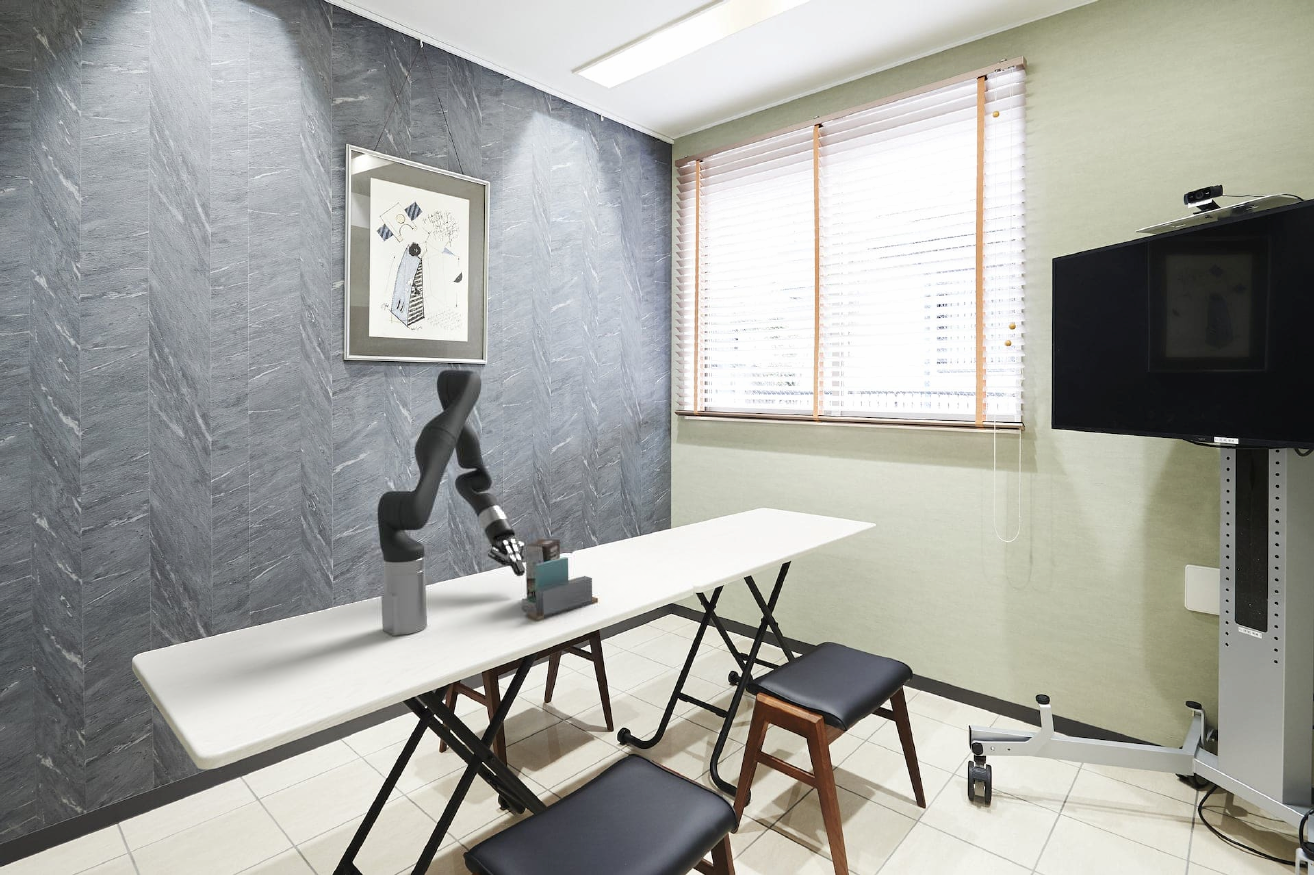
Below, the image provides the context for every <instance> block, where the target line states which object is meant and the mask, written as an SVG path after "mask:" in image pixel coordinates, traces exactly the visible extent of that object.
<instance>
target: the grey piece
mask: <svg viewBox="0 0 1314 875" xmlns="http://www.w3.org/2000/svg"><path fill="white" fill-rule="evenodd" d="M595 603H599V598H598V597H595V596H593V577H590V576H586V575H583V576H579V577H576V578H572V579H569V580H568V581H564V582H560V583H557V584H553V585H549V586H546V587H542V588H538V589H536V599H530V600H529V599H528V598H527V597H526V598H522V599H521V611H522V612H525V613H526V618H528V619H531V620H533V621H536V622H539V621H542V620H545V619H548V618H551V617H554V616H558V615H562V614H565V613H567V612H570V611H574V610H576V609H580V608H583V607H586V606H590V605H593V604H595Z"/></svg>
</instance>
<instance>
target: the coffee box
mask: <svg viewBox="0 0 1314 875" xmlns="http://www.w3.org/2000/svg"><path fill="white" fill-rule="evenodd" d="M560 558H561V540H560V539H555V538H554V539H553V538H551V539H549V538H547V539H544V538H539V539H537V540H534V541H533V542H530V543H528V545H526V556H525V576H526V577H525V578H526V580H525V582H526V584H525V585H526V586H525V587H526V598H528V597H529V596H533V595H536V592H535V564H538V563H543V562H547V561H551V560H555V559H560ZM533 599H536V598H533Z"/></svg>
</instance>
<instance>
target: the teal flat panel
mask: <svg viewBox="0 0 1314 875" xmlns="http://www.w3.org/2000/svg"><path fill="white" fill-rule="evenodd" d="M568 580H570V578H569V558H568V557H567V556H566V557H560V559H555V560H551V561H547V562H543V563H538V564H535V592H536V589H538V588H542V587H546V586H549V585H553V584H557V583H560V582H564V581H568ZM533 598H536V595H533V596H529V597H528V599H529V600H530V599H533Z"/></svg>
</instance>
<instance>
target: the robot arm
mask: <svg viewBox="0 0 1314 875" xmlns="http://www.w3.org/2000/svg"><path fill="white" fill-rule="evenodd" d="M436 390H437V391H436V392H437V395H438V399H439V402H440V405H441V407H442V410H443V411H441V412H440V413H439V414H438V415H436V416H434V417H433V418H432V419H431V420H430V421H428V422H427V423H426V424H425V426H423V429H421V432H420V434H419V436H418V438H417V440H416V443H415V445H414V455H415V461H416V464H417V466H418V469H419V479H418V483H417V485H416V486H415V488H414V490H412V491H410V490H402V491H401V490H400V491H399V490H391V491H386V492H384V493H383V494H382V495H381V497H380V498H379V501H378V505H377V526H378V534H379V536H378V537H379V546H380V551H381V552H382V555H383V556H382V558H383V579H384V580H383V582H384V584H383V585H384V590H382V591H381V593H380V595H381V620H382V621H381V622H382V631H384V632H385V633H388V634H389V635H392V636H393V637H395V636H400V635H401V636H402V635H409V634H415V633H418V632H420V631H423V630H425V629H426V628H427V626H428V614H427V590H426V589H427V588H426V587H427V585H426V584H427V583H426V558H425V557H426V556H425V552H426V551H425V546H424V545H423V544H422V543H421V542H420V541H418V540H415V539H413V538H412V537H410V535H408V534H407V533H406V531H419V530H422V529H423V528H424V527H425V526H426V525H427V523H428V522H429V519H430V518H431V514H432V511H433V508H434V504H435V501H436V498H437V495H438V491H439V489H440V484H441V482H442V480H443V477H444V474H445V472H446V469H447V466H448V464H449V462H450V460H451V458H452V455H453V453H454V450H455V454H456V459H457V464H458V466H459V467H460V468H461V469H465V470H471V471H468V472H464V473H460V474H459V475H458V476H457V477H456V478H455V481H454V486H455V487H454V488H455V489H456V490H457V491H456V492H457V493H458V494H459V496H461V497H462V498H463V499H464V501H466V502H467V503H468V504H469V505H470V506H471V508H472V509H473V510H474V513H475V514H476V516H477V518H478V520H479V523H480V526H481V528H482V530H483V532H484V534H485V536H486V538H487V540H488V542H489V544H490V545H491V549H490V550H489V552H488V553H487V556H488V557H489V558H491V559H492V560H494V561H495V562H497V563H499V564H500V565H502V566H504V567H506V566H509V567H510V568H511V570H512V571H513V573H514V575H515V576H516V577H522V576H524V574H526V567H525V566H524V564H523V560H524V559H526V545H528V544H529V542H528V541H524V542H523V541H520V539H519V538H518V537H517V536H516V533H515V530H514V528H513V526H512V524H511V522H510V521H509V518H508V517H507V515H506V513H505V512H504V510H503V508H502V507H501V506H500V504H499V502H498V500H497V498H496V497H495V495H494V494H493V493H491V492H486V491H489V490H490V488H492V484H493V481H492V480H493V479H492V477H491V474H490V473H489V471H488V469H487V467H486V465H485V462H484V460H483V456H482V449H481V443H480V439H479V436H478V435H477V433H476V431H475V430H474V429H473V428H472V426H471V425H470V424H469V423H468V421H467V419H468V418H469V416H470V414H471V412H472V410H473V409H474V407H475V405H476V404H477V401H478V399H479V397H480V394H481V391H482V378H481V376H480V374H479V373H477V372H476V371H473V370H465V369H464V370H461V369H460V370H459V369H458V370H457V369H455V370H454V369H445V370H442V371H441V372H440V373H439V374H438V376H437V379H436ZM472 469H473V470H472Z"/></svg>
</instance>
